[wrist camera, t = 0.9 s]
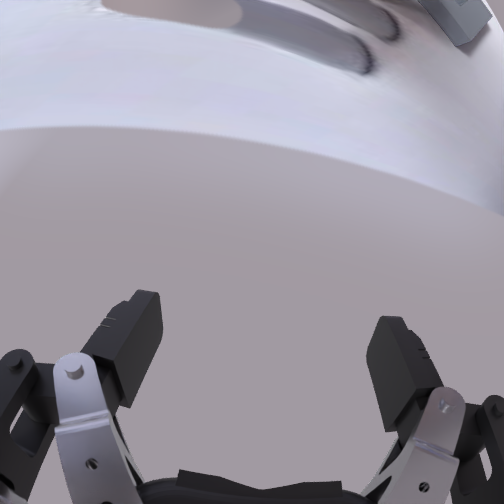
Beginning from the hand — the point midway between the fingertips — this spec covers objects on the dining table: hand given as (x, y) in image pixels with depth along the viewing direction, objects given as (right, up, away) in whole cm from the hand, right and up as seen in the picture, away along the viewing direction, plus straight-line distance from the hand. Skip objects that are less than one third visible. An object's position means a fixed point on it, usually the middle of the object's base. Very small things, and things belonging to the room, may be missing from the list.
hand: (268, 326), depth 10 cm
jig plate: (+30, +44, +14) cm, 55 cm away
